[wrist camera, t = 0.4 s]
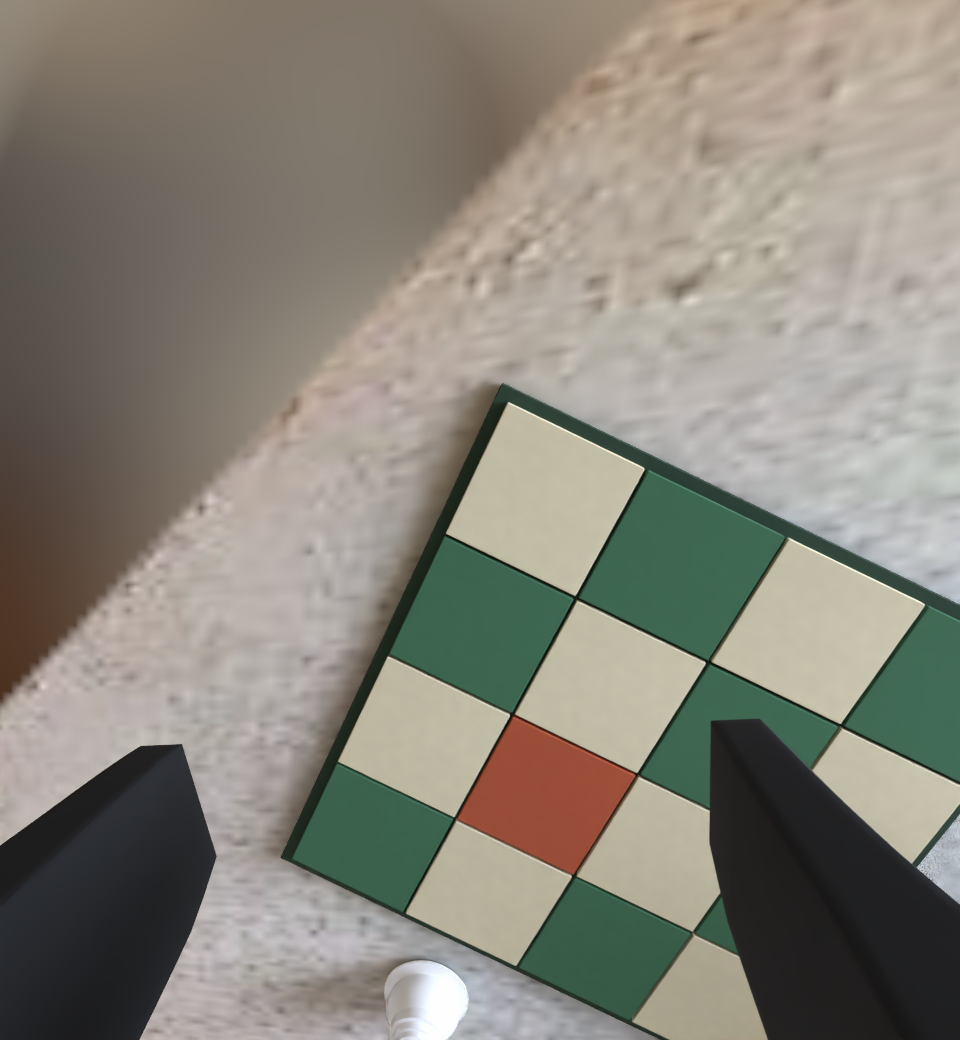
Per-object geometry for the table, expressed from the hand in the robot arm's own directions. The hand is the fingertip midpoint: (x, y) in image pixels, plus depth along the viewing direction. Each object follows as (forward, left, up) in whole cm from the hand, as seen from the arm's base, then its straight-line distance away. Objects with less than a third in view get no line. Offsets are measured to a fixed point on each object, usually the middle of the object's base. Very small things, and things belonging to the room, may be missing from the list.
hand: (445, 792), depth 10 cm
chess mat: (-4, -6, -10) cm, 13 cm away
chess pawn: (-15, -4, -11) cm, 19 cm away
